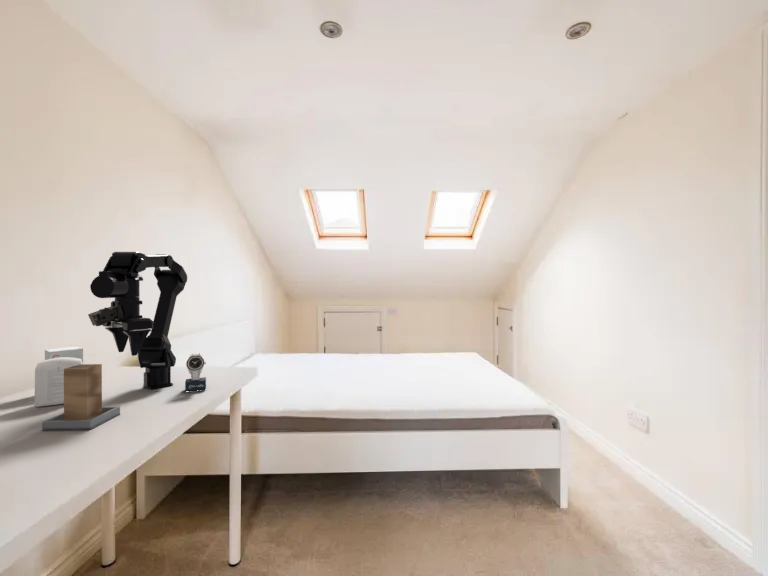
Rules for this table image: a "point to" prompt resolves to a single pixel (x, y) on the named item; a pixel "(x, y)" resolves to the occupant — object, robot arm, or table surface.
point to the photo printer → (52, 380)
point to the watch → (195, 373)
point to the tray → (79, 421)
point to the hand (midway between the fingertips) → (127, 353)
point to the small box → (64, 353)
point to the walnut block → (83, 392)
